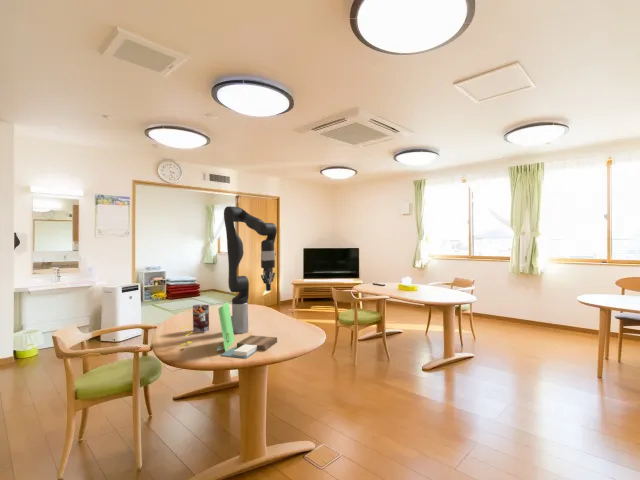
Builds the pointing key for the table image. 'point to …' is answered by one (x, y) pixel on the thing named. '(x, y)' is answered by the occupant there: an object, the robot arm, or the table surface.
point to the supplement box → (197, 324)
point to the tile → (245, 350)
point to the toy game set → (225, 325)
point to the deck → (258, 342)
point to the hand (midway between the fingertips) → (268, 290)
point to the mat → (231, 353)
